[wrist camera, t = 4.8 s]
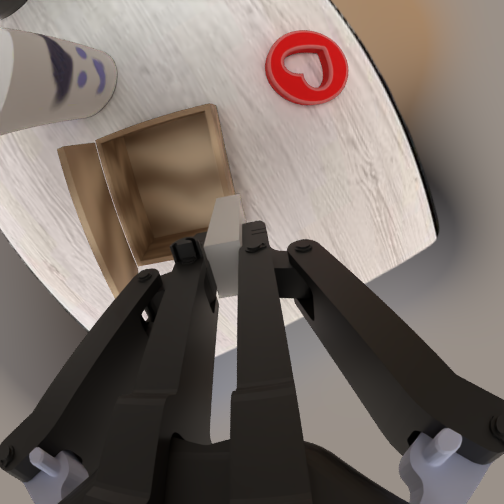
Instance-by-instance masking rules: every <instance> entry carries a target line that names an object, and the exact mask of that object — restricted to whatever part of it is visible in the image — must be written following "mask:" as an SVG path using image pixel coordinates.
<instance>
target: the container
mask: <svg viewBox="0 0 504 504" xmlns="http://www.w3.org/2000/svg"><path fill="white" fill-rule="evenodd" d="M116 81H117V70H116V66H115V63H114V61H113V59H112V58H111V57H110V56H109V55H108V54H107V53H105V52H103V51H100V50H97V49H94V48H90V47H87V46H84V45H80V44H77V43H73V42H70V41H66V40H62V39H58V38H54V37H50V36H46V35H41V34H36V33H31V32H26V31H20V30H14V29H7V28H0V135H3V134H7V133H11V132H15V131H18V130H23V129H27V128H31V127H36V126H40V125H45V124H50V123H56V122H62V121H68V120H74V119H81V118H87V117H90V116H92V115H94V114H96V113H97V112H99V111H100V110H101V109H102V108H103V107H104V106H105V105H106V104H107V102H108V101H109V99H110V98H111V96H112V94H113V92H114V89H115V86H116Z"/></svg>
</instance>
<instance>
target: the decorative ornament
mask: <svg viewBox="0 0 504 504" xmlns="http://www.w3.org/2000/svg"><path fill="white" fill-rule="evenodd" d="M296 53H317V54H318V56H319V59H320V62H321V65H322V69H323V81H322V83H321V85H320V86H319V87H318V88H314V87H311V86H310V85H309V84H308V83H307V82H306V80H305V78H304V75H303V74H296V73H292V72H290V71H289V70H287V69H286V67H285V65H284V59H285V57H287V56H289V55H292V54H296ZM265 72H266V76H267V79H268V81H269V83H270V85H271V86H272V88H273V89H274V90H275V91H276V92H277V93H278V94H279V95H280V96H282V97H283V98H284V99H286V100H288V101H290V102H293V103H296V104H301V105H315V104H322V103H325V102H328V101H330V100H332V99H334V98H335V97H336V96H338V95H339V94H340V93H341V91H342V90H343V89H344V87H345V84H346V82H347V78H348V64H347V60H346V58H345V56H344V54H343V52H342V50H341V49H340V48H339V46H338V45H337V44H336V43H335V42H334V41H333V40H331V39H330V38H328V37H326V36H324V35H322V34H320V33H317V32H313V31H307V30H300V31H294V32H290V33H287V34H285V35H283V36H282V37H280V38H279V39H278V40H277V41H276V42H275V43H274V44H273V46H272V47H271V49H270V51H269V53H268V56H267V58H266V63H265Z"/></svg>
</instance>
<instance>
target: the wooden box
mask: <svg viewBox="0 0 504 504" xmlns="http://www.w3.org/2000/svg"><path fill="white" fill-rule="evenodd" d="M95 141H96V145H97V148H98V152H99V156H100V159H101V163H102V166H103V170H104V173H105V176H106V180H107V183H108V186H109V189H110V192H111V195H112V198H113V201H114V204H115V207H116V210H117V213H118V216H119V219H120V221H121V224H122V227H123V230H124V232H125V235H126V237H127V240H128V243H129V245H130V248H131V250H132V253H133V255H134V258H135V260H136V263H137V265H138V266H143V265H148V264H153V263H159V262H164V261H169V260H174V258H173V256H172V253H171V250H170V245H171V244H172V243H174V242H175V241H177V240H179V239H181V238H185V237H191V236H192V237H194V236H195V235H196V234H197V233H202V232H207V231H208V228H209V224H210V220H211V216H212V213H213V209H214V205H215V202H216V198H221V197H226V196H230V195H235V191H234V187H233V182H232V177H231V173H230V168H229V164H228V159H227V154H226V150H225V145H224V140H223V136H222V131H221V126H220V122H219V117H218V112H217V108H216V105H213V104H210V103H209V104H205V105H201V106H197V107H193V108H189V109H185V110H181V111H178V112H174V113H171V114H167V115H164V116H161V117H158V118H154V119H151V120H148V121H145V122H142V123H139V124H136V125H134V126H131V127H128V128H125V129H123V130H120V131H117V132H115V133H112V134H110V135H107V136H105V137H102V138H100V139H97V140H95Z"/></svg>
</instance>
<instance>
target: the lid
mask: <svg viewBox="0 0 504 504" xmlns="http://www.w3.org/2000/svg"><path fill="white" fill-rule="evenodd" d="M57 151H58V155H59V159H60V162H61V166H62V169H63V173H64V176H65V179H66V182H67V185H68V189H69V192H70V195H71V197H72V200H73V203H74V206H75V209H76V211H77V214H78V217H79V220H80V222H81V225H82V227H83V230H84V232H85V235H86V237H87V240H88V242H89V244H90V247H91V249H92V251H93V254H94V256H95V258H96V260H97V262H98V265H99V267H100V269H101V271H102V273H103V275H104V277H105V279H106V282H107V284H108V286H109V288H110V290H111V292H112V293H113V295H114V297H115V299H116V297H117V296H118V295H119V294H120V293H121V291H122V290H123V289H124V288H125V287H126V285H127V284H128V283H129V282H130V281H131V280H132V278H133V277H134V276H135V275H137V274H138V268H137V265H136V263H135V261H134V258H133V256H132V253H131V251H130V248H129V246H128V243H127V241H126V238H125V235H124V233H123V230H122V227H121V225H120V222H119V219H118V216H117V214H116V211H115V208H114V205H113V202H112V199H111V196H110V193H109V190H108V187H107V184H106V181H105V177H104V174H103V171H102V167H101V164H100V160H99V157H98V153H97V149H96V146H95V143H87V144H79V145H71V146H64V147H61V148H59V149H57Z"/></svg>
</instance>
